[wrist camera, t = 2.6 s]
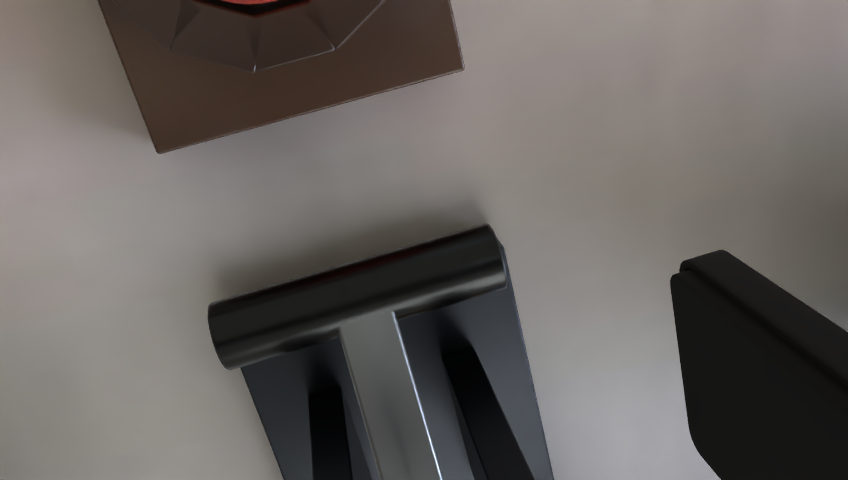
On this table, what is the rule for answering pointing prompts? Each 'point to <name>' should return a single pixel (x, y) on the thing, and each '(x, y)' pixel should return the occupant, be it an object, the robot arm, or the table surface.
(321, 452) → the bracket
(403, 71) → the button block
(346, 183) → the table surface
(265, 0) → the button
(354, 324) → the lever
